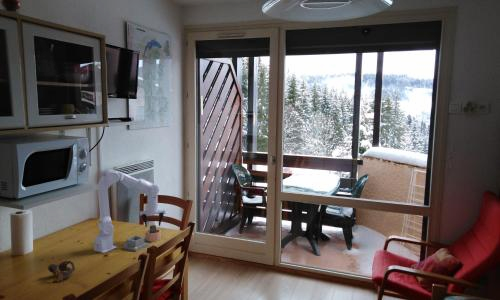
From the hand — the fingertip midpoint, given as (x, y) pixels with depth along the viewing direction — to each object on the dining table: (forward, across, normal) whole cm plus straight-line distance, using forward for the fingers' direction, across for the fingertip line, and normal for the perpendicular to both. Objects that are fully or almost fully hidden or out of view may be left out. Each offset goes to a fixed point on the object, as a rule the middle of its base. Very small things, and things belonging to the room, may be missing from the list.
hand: (152, 226), depth 219 cm
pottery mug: (+9, +43, +38) cm, 58 cm away
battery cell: (+7, 0, 0) cm, 7 cm away
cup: (+8, 0, 0) cm, 8 cm away
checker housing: (+8, +10, +10) cm, 16 cm away
